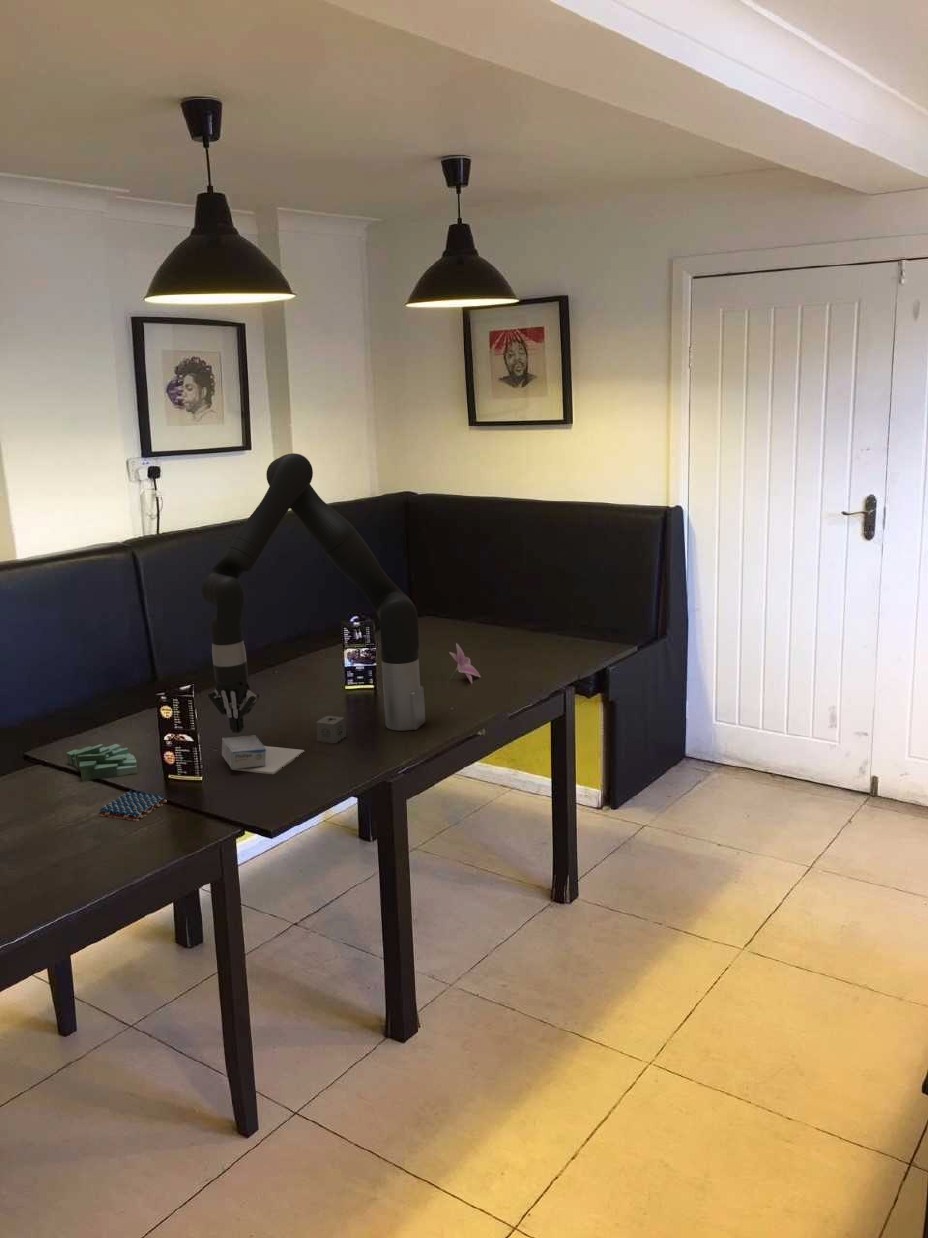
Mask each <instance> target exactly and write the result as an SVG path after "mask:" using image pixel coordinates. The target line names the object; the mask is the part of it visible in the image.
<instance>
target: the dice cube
mask: <svg viewBox="0 0 928 1238" xmlns="http://www.w3.org/2000/svg"><path fill="white" fill-rule="evenodd" d="M315 725H316V733H317V734H316V739H317V742H318V741H322V742H321V743H325V742H329V744H333V743H336V744H338V743H339V742H340V741H342V740H343V739H345V738H346V737H347V733H346V732H347V730H346V719H345V717H343V716H334V715H333V716H332V715H326V716H324V717H322V718H321V719H319V720H317V721H316V724H315ZM344 737H345V738H344ZM341 739H342V740H341ZM338 741H339V742H338Z"/></svg>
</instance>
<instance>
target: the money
mask: <svg viewBox="0 0 928 1238" xmlns="http://www.w3.org/2000/svg"><path fill="white" fill-rule="evenodd" d="M129 750H130V749H129V748H128V747H124V748H122V747H121V745H120V744H118V743H114V744H112V745H109V746H104V744H102V743H100V744H98V745H94V746H90V745H89V746H86V747H83V748H81V749H77V748H76V749H73V750H70V751H68V752H67V751H66V757H67V762H68V765H71V766H74V767H75V768H76V769H78V768H79V769H80V770H79V769H78V770H79V771H81V772H80V775H81V776H80V777H81V781H82V782H83V781H89V780H97V779H99V780H100V779H107V778H111V777H112V778H114V777H120V776H122V777H123V776H129V775H132V774H135V775H136V774H138V771H139V770H138V761H137V759H136V757H135V756H134V754H131V753H130V751H129Z"/></svg>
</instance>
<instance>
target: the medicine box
mask: <svg viewBox="0 0 928 1238" xmlns="http://www.w3.org/2000/svg"><path fill="white" fill-rule="evenodd" d="M221 741H222V742H221V756H222V757H223V759H224V760H225V762H226V763H227V764H228V766H229V768H230V769H231V770H232V769H238V768H248V767H258V766H265V755H266V748H265V747H264V746H265V745H264V744H263V743H262V742H261V740H260V739H259V738H258V736H256V734H253V735H250V734H249V735H242V736H230V737H222V738H221Z"/></svg>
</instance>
